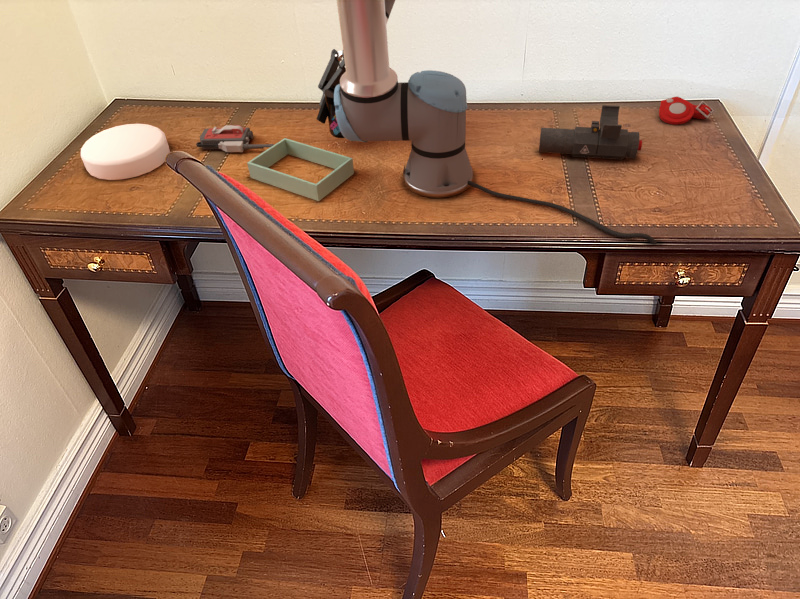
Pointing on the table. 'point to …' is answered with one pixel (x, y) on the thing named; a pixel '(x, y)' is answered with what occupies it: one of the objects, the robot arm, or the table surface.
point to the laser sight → (593, 139)
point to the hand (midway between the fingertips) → (333, 124)
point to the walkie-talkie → (228, 139)
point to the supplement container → (332, 113)
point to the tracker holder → (682, 111)
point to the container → (125, 151)
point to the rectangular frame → (296, 185)
